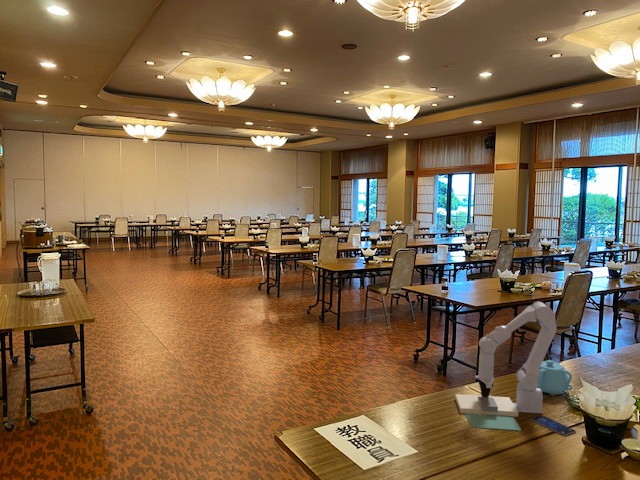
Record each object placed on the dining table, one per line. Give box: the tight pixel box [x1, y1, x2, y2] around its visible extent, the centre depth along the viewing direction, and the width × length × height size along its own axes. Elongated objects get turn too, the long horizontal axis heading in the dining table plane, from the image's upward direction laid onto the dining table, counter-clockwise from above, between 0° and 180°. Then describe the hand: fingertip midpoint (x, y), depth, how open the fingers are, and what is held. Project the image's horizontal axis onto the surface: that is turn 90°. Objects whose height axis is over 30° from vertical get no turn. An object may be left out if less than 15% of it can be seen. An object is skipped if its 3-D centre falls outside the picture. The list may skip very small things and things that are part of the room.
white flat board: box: [454, 393, 519, 418], centre depth 198 cm, size 22×14×2 cm, turn 83°
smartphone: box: [530, 414, 577, 437], centre depth 183 cm, size 7×1×15 cm
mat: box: [465, 413, 522, 432], centre depth 185 cm, size 18×11×1 cm, turn 83°
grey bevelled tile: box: [478, 397, 498, 412], centre depth 194 cm, size 6×9×2 cm, turn 172°
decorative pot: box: [537, 359, 573, 396], centre depth 216 cm, size 16×16×14 cm
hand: (484, 398), depth 200 cm, fingers closed
